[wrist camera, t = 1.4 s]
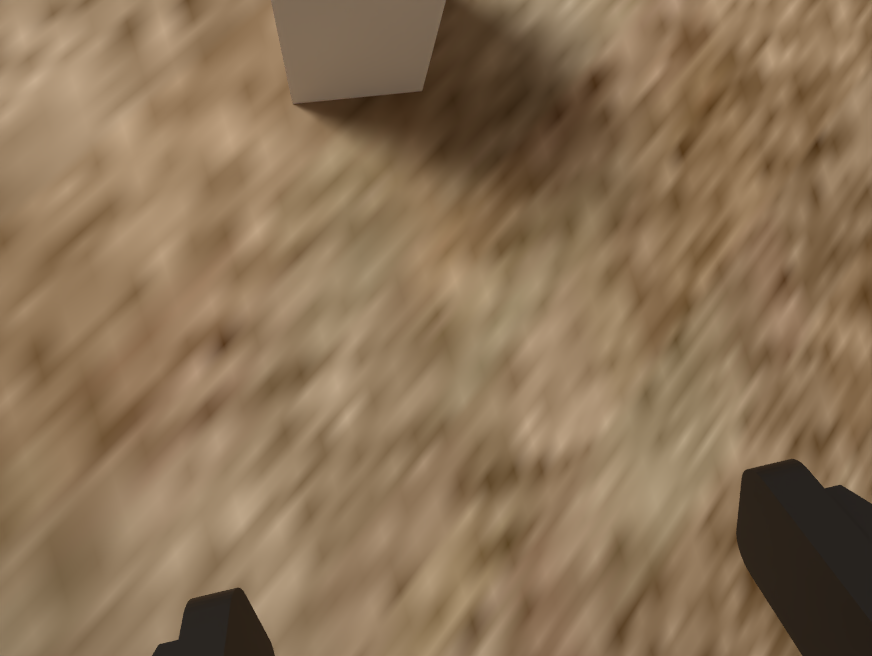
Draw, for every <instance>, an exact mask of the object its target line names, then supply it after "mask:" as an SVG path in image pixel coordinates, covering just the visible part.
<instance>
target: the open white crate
mask: <svg viewBox="0 0 872 656" xmlns="http://www.w3.org/2000/svg"><path fill="white" fill-rule="evenodd" d="M445 2H446V0H271V3H272V7H273V12H274V17H275V22H276V27H277V31H278V36H279V41H280V46H281V51H282V55H283V60H284V65H285V70H286V75H287V79H288V84H289V89H290V94H291V99H292V103H293V104H297V103H307V102H317V101H327V100H337V99H347V98H357V97H367V96H377V95H387V94H397V93H408V92H418V91H422V90H423V86H424V82H425V78H426V75H427V71H428V67H429V63H430V59H431V56H432V52H433V48H434V44H435V40H436V36H437V33H438V29H439V25H440V21H441V17H442V14H443V10H444V6H445Z"/></svg>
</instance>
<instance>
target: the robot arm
mask: <svg viewBox="0 0 872 656" xmlns="http://www.w3.org/2000/svg"><path fill="white" fill-rule="evenodd" d="M736 535H737V542H738V547H739V550H740V553H741V556H742V559H743V561H744V563H745V565H746V567H747V569H748V571H749V573H750V574H751V576H752V578H753V579H754V581H755V582H756V584H757V585H758V587H759V588H760V590H761V592H762V593H763V595H764V596H765V598H766V599H767V601H768V603H769V604H770V606H771V607H772V609H773V610H774V612H775V613H776V615H777V617H778V618H779V620H780V621H781V623H782V624H783V626H784V628H785V629H786V631H787V632H788V634H789V635H790V637H791V638H792V640H793V642H794V643H795V645H796V646H797V648H798V649H799V651H800V653H801V654H802V656H872V504H871V503H870V502H868V501H866V500H865V499H863V498H861V497H860V496H858V495H856V494H855V493H853V492H852V491H850V490H848V489H847V488H845V487H843V486H842V485H837V486H833V487H829V488H825V489H824V487H823V486H822V485H821V484H820V483H819V482H818V480H817V479H816V478H815V477H814V476H813V475H812V474H811V472H810V471H809V470H808V469H807V468H806V467H805V466H804V465H803V464H802V463H801V462H799V461H798V460H795V459H789V460H785V461H781V462H776V463H772V464H768V465H764V466H759V467H755V468H751V469H747V470H745V471H744V472H743V475H742V481H741V491H740V501H739V510H738V520H737V531H736ZM152 656H275V655H274V651H273V647H272V644H271V642H270V639H269V638H268V636H267V634H266V632H265V630H264V628H263V626H262V624H261V623H260V621H259V619H258V617H257V615H256V613H255V611H254V610H253V608H252V606H251V604H250V602H249V600H248V598H247V596H246V595H245V593H244V591H243V590H242V589H241V588H234V589H230V590H226V591H222V592H217V593H213V594H209V595H205V596H200V597H196V598H192V599H190V600H189V601H188V603H187V605H186V607H185V610H184V614H183V619H182V625H181V630H180V635H179V640H176V641H172V642H167V643H163V644H159V645H158V647H157V648H156V650H155V652H154V653H153V655H152Z"/></svg>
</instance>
